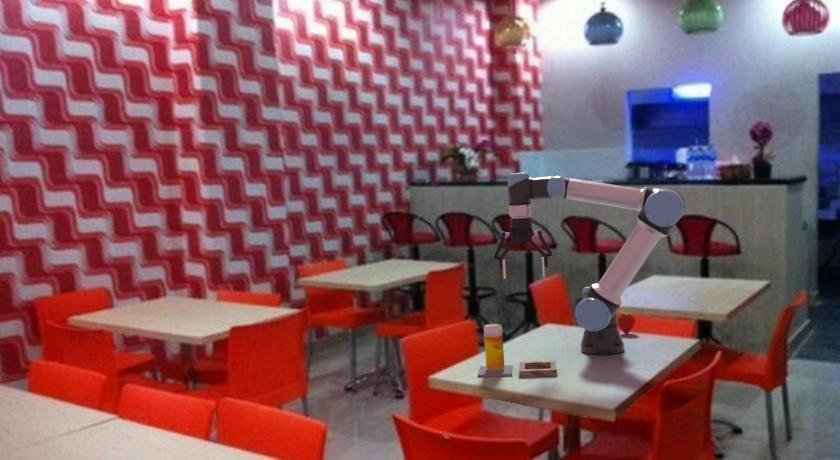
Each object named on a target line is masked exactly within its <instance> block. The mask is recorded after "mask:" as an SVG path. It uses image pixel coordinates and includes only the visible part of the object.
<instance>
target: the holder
mask: <svg viewBox="0 0 840 460" xmlns="http://www.w3.org/2000/svg"><path fill="white" fill-rule="evenodd" d="M518 365H519V368H518V373H519V374H518V375H519V376H518V377H519V378H533V377H534V378H535V377H536V378H537V377H540V378H541V377H557V376H558V370H557V361H556V360H536V361H535V360H534V361H531V360H530V361H519V364H518Z"/></svg>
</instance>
